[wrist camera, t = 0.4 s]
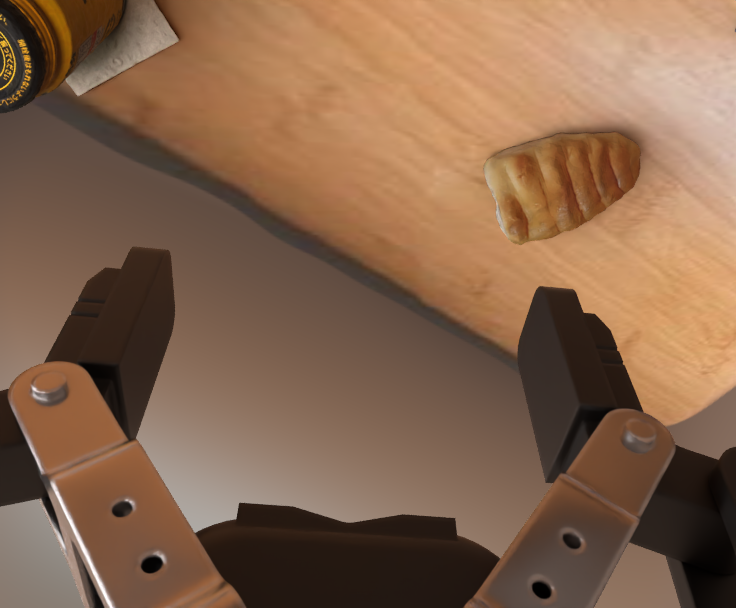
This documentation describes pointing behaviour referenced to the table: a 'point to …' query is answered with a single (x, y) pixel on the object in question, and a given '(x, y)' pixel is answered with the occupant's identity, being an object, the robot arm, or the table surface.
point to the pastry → (559, 182)
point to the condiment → (73, 44)
